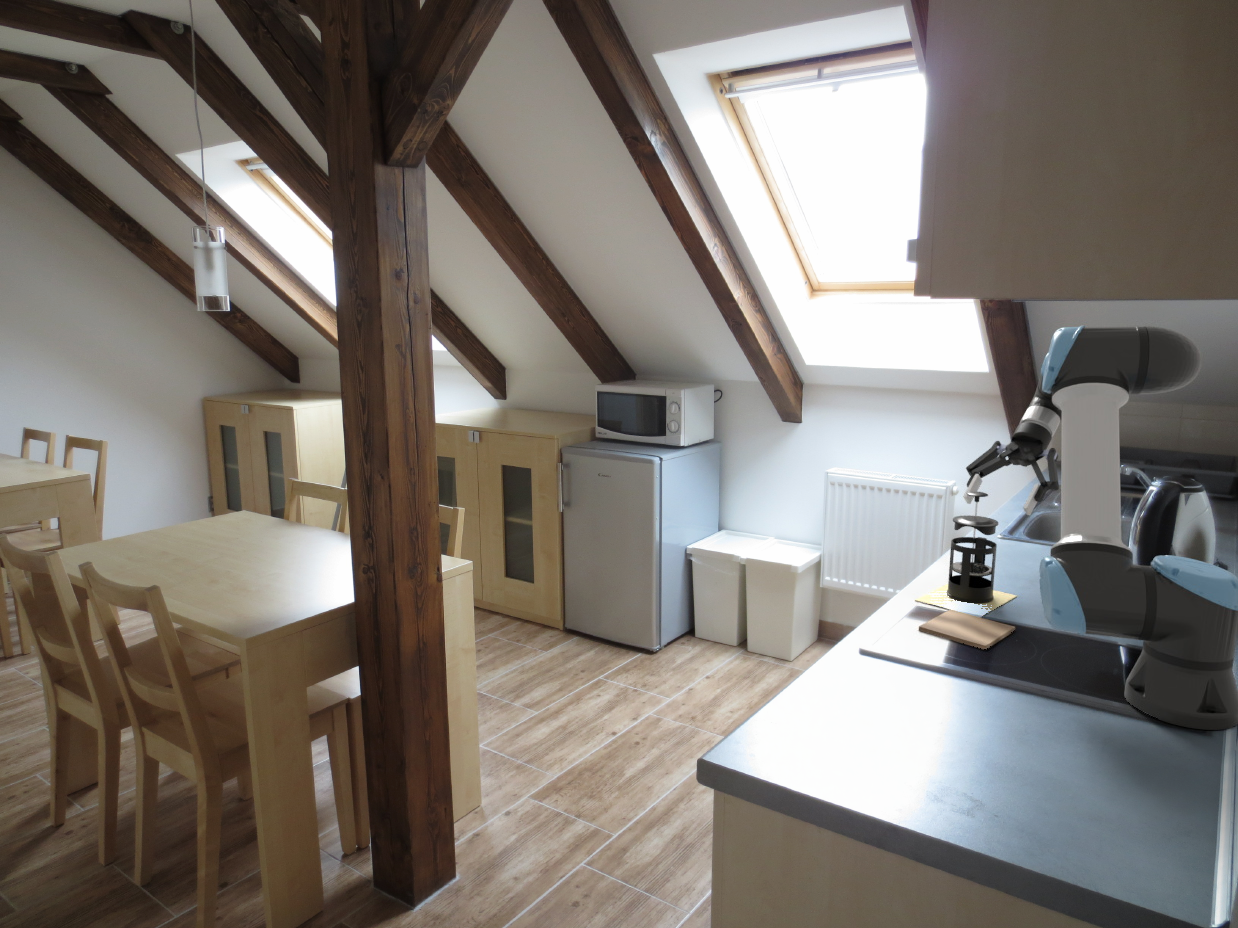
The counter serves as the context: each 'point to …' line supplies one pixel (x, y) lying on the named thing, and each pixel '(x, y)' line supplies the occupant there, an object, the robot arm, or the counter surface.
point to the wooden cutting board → (967, 629)
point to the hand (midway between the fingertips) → (995, 505)
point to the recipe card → (998, 600)
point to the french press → (971, 579)
